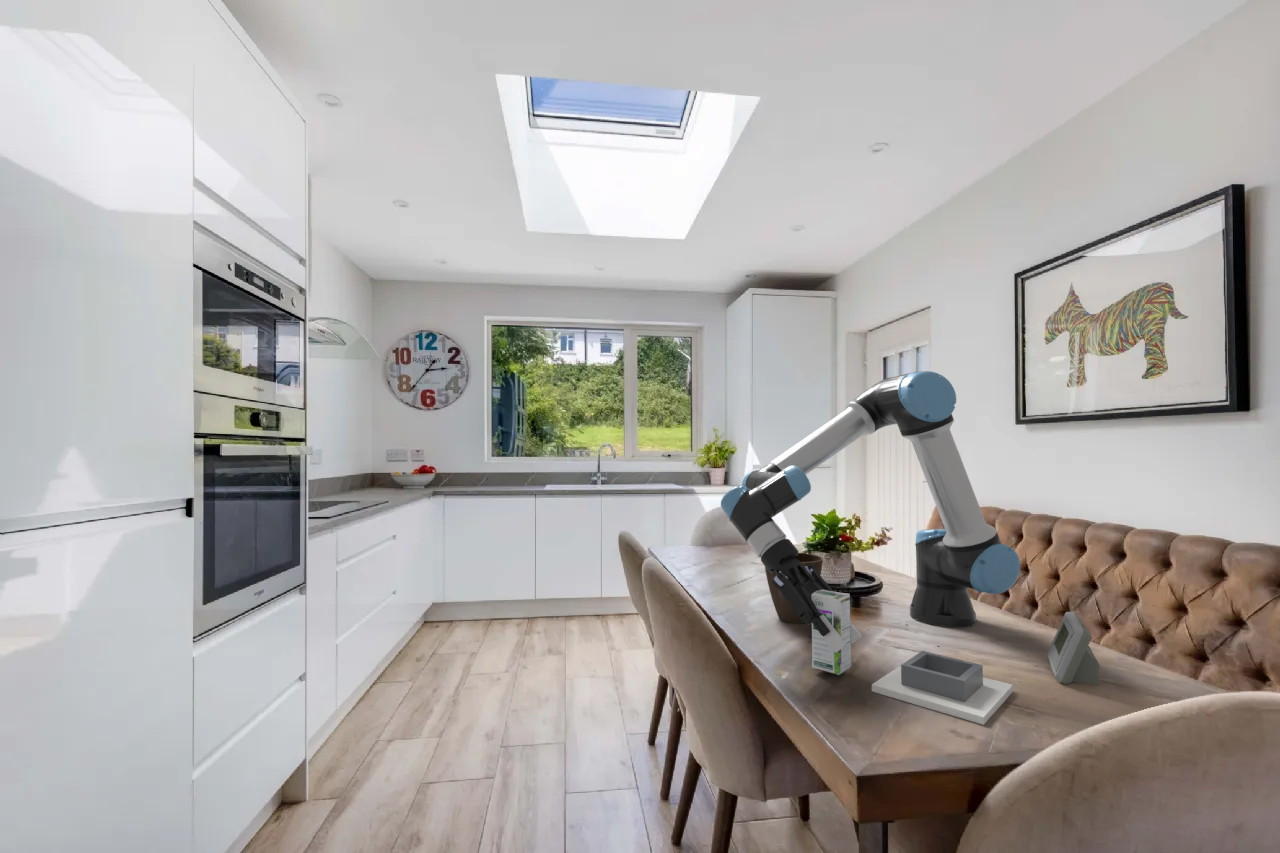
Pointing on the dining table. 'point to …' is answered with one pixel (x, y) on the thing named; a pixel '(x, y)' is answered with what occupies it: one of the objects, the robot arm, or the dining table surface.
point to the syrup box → (839, 617)
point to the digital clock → (1073, 652)
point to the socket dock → (945, 686)
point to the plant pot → (779, 600)
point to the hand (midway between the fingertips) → (848, 644)
